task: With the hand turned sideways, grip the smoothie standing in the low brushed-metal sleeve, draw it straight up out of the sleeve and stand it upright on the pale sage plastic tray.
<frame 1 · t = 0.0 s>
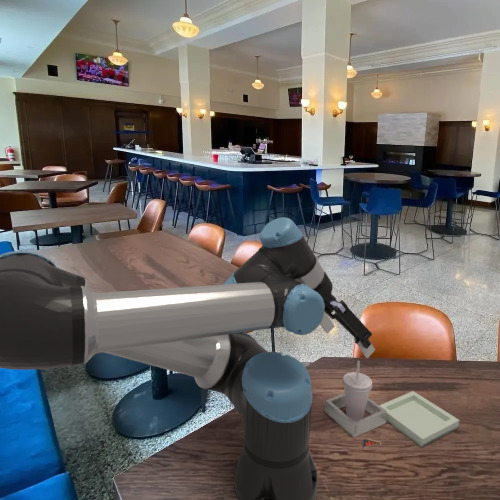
hand: (349, 340, 89), 15 cm above the table, tool tilted 35°, fingers open, 13 cm apart
smoothie: (354, 418, 86), resting in sleeve
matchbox: (373, 449, 77), on the table
tray: (416, 420, 85), on the table
sleeve: (354, 417, 86), on the table
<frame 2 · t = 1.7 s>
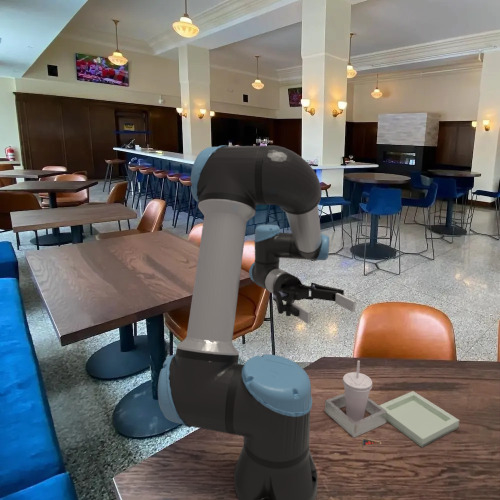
hand: (332, 312, 88), 22 cm above the table, tool horizontal, fingers open, 13 cm apart
nothing on the table moved.
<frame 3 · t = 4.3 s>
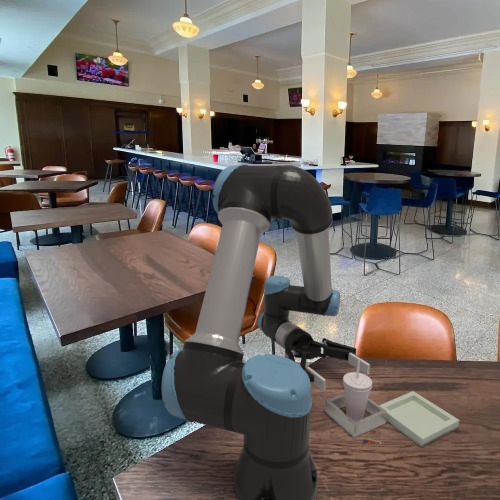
hand: (347, 377, 87), 8 cm above the table, tool horizontal, fingers open, 13 cm apart
nothing on the table moved.
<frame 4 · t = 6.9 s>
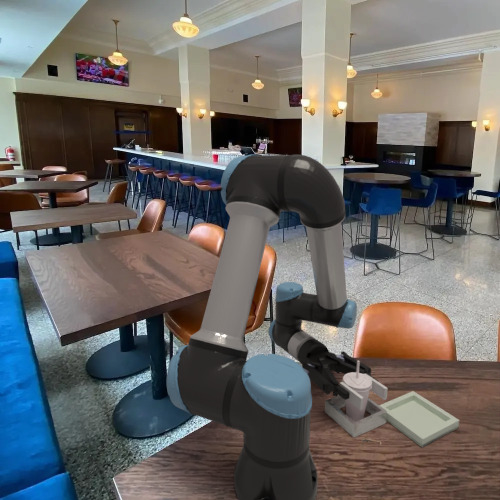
hand: (374, 398, 79), 8 cm above the table, tool horizontal, fingers closed on smoothie, 6 cm apart
smoothie: (354, 417, 86), resting in sleeve, touching gripper
everything else where it was.
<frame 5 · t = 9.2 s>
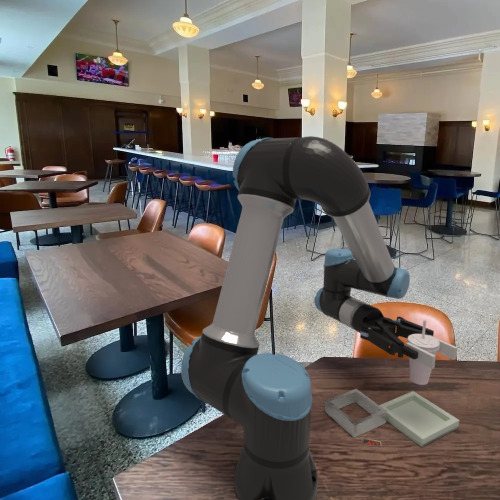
hand: (444, 357, 76), 18 cm above the table, tool horizontal, fingers closed on smoothie, 6 cm apart
smoothie: (418, 380, 83), point 10 cm above the table, touching gripper
everything else where it was.
when the fingers open (10 cm above the table, at t = 11.9 s): smoothie drops 1 cm, resting on tray.
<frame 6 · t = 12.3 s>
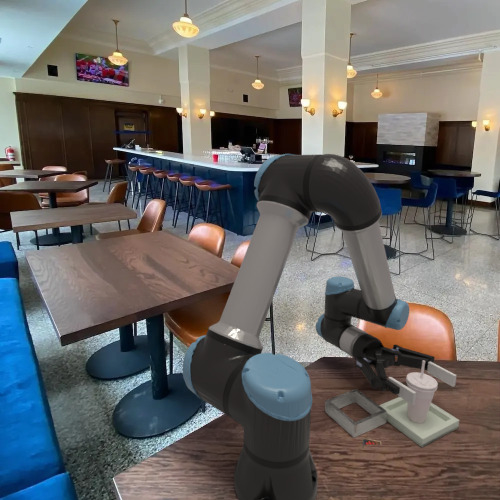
hand: (435, 389, 79), 10 cm above the table, tool horizontal, fingers open, 12 cm apart
smoothie: (416, 418, 84), resting on tray
everything else where it was.
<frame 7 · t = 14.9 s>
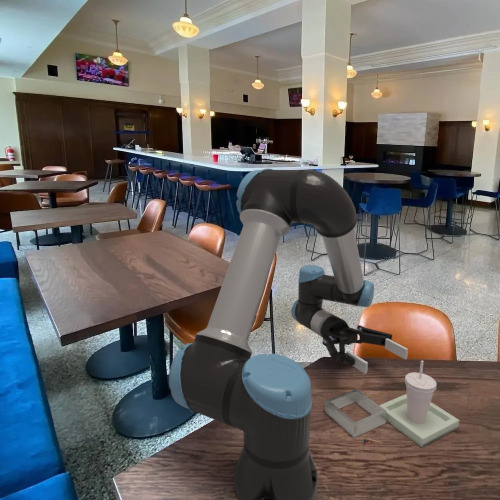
hand: (387, 361, 90), 10 cm above the table, tool horizontal, fingers open, 13 cm apart
nothing on the table moved.
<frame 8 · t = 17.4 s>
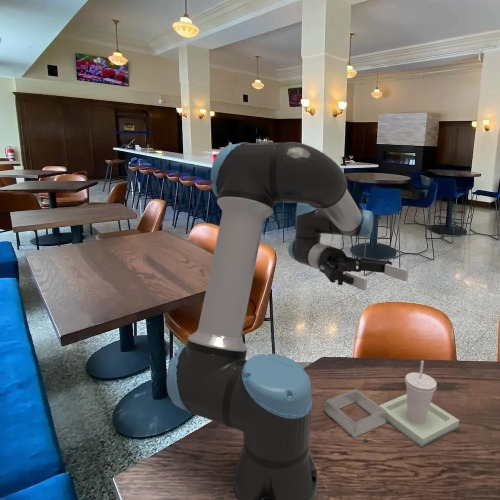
hand: (387, 280, 87), 30 cm above the table, tool horizontal, fingers open, 13 cm apart
nothing on the table moved.
at the end: smoothie inside the target area on the tray (0.1 cm from its centre), point 0.4 cm above the tray's base; smoothie tilted 0°; the gripper is holding nothing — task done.
